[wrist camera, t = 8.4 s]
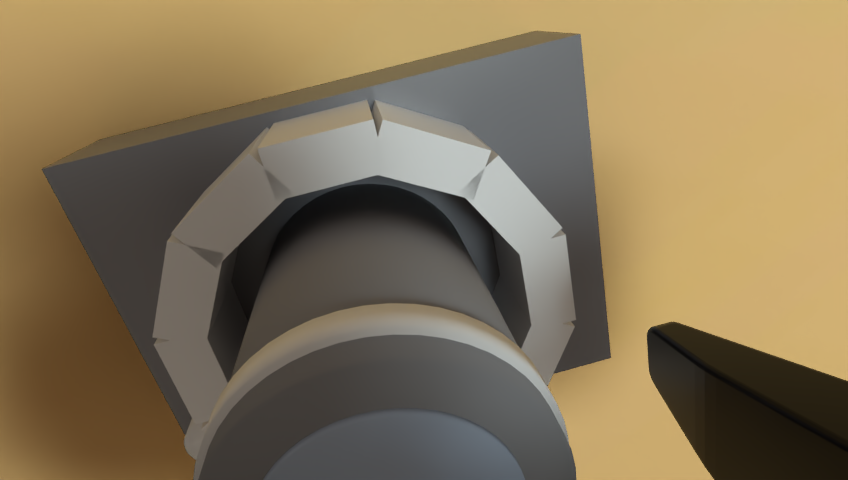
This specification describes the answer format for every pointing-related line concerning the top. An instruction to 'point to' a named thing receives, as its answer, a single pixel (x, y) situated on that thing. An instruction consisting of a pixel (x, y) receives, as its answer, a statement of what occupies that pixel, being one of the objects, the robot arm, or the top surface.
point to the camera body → (339, 167)
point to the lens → (380, 359)
